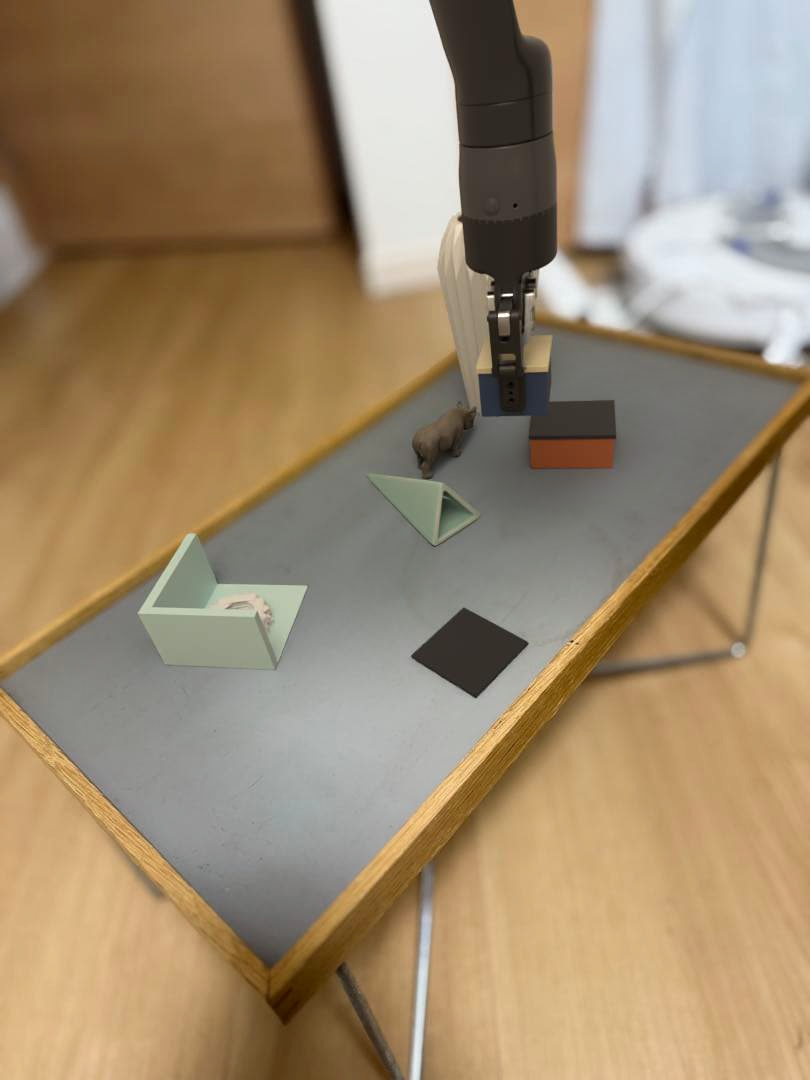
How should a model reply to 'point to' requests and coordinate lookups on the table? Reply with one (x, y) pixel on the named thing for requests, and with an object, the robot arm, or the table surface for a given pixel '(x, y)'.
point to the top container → (534, 379)
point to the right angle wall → (217, 615)
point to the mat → (469, 651)
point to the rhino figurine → (442, 436)
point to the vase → (465, 304)
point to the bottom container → (574, 435)
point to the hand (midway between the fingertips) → (516, 390)
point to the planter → (427, 505)
